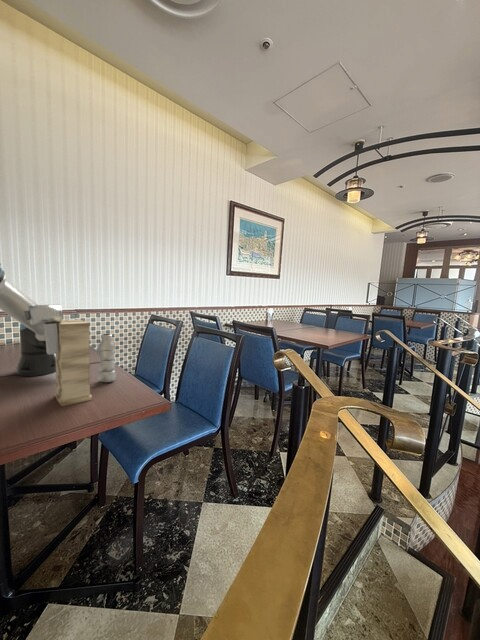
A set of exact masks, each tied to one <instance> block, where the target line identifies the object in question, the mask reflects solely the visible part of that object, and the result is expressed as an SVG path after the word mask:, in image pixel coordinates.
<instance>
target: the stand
mask: <svg viewBox="0 0 480 640" xmlns="http://www.w3.org/2000/svg"><path fill="white" fill-rule="evenodd" d="M57 330H58V342H59V353H56V354H55V357H56V371H55V378H56V379H55V380H56V381H55V385H56V386H55V387H56V392H54V397H55V398H56V401H57V402H58V403H59V405H60V407H65V406H66V407H67V406H69V405H75V404H79V403H84V402H88V401H92V400H93V395H92V394H91V372H90V370H91V369H90V367H91V365H90V363H91V362H90V354H91V353H90V322H88V321H84V320H82V319H70V320H69V319H68V320H64V319H63V321H62V322H59V323H57Z"/></svg>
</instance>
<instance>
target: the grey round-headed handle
mask: <svg viewBox="0 0 480 640" xmlns="http://www.w3.org/2000/svg"><path fill="white" fill-rule="evenodd" d="M24 314H25V320H30V324H31V325H34V324H44V329H45V340H46V350H47V354H48V355H49V354H54V355H56V353H59V342H58V330H57V323H59V322H62V321H63V320H64V315H63V314H64V313H63V309H62V305H61V304H59V303H58V304H56V303H55V304H38V305H30V306H29V307H28V311H24Z"/></svg>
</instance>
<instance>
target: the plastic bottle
mask: <svg viewBox="0 0 480 640" xmlns="http://www.w3.org/2000/svg"><path fill="white" fill-rule="evenodd" d="M112 339H113V334H111V333H102V334H101V341H100V343H98V345H97V351H98V356H99V357H98V359H99V370H98V375H97V376H98V381H99V382H101V383H111V382H114V381H115V380H116V377H117V374H116V370H115V354H116V345H115V343H114V341H113V340H112Z"/></svg>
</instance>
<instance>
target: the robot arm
mask: <svg viewBox="0 0 480 640" xmlns="http://www.w3.org/2000/svg"><path fill="white" fill-rule="evenodd" d="M1 264H2V263H0V310H1V311H2V312H4V313H6V314H7V315H9V316H10V317H11V318H13V319H14V320H16V321H17V322H19V324H20V325H19V341H20V357H19V360H18V362H17V367H16V370H15V371H16V375H17V376H20V377H36V376H43V375H44V376H45V375H49V374H53V373H56V354H49V355H48V354H47V350H46V340H45V329H44V324H34V325H31V324H30V320H25V314H24V311H28V307H29V306H30V305H39V304H37V303H36V302H35V301H34V300H32V298H30V297H29V296H27V295H26V294H25V293H24V292H23V291H22V290H20V289H19V288H18V287H17V286H15V285H14V284H13V283H11V282H10V281H9V280H7V279H6V276H7V275H6V271H4V270H3V269H2V267H1Z"/></svg>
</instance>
